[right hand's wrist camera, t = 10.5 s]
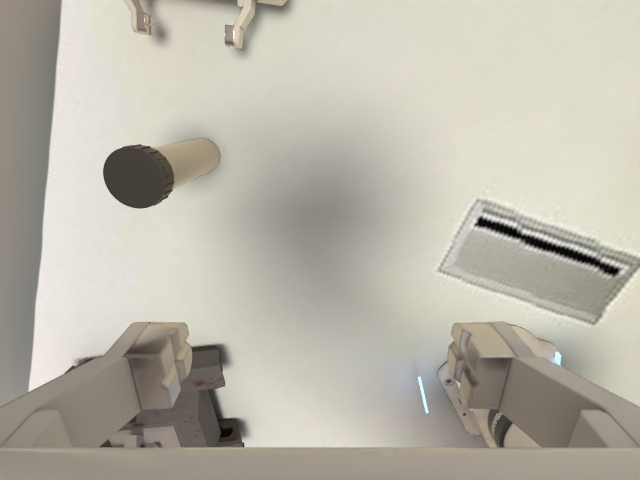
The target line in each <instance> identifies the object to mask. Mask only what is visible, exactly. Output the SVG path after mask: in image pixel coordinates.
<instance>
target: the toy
mask: <svg viewBox="0 0 640 480" xmlns="http://www.w3.org/2000/svg"><path fill="white" fill-rule="evenodd" d="M91 360H93V359H89V360H87V361H85V362H83V363H80V364H79V365H77V366H76V367H75V366H72V367H71V368H70V369H69V370H68V371H66V372H65V373H67V372H69V371H71V370H73V369H75V368H77V367H79V366H81V365H83V364H85V363H87V362H89V361H91ZM222 371H223V369H222V365H221V361H220V357H219V349H217V348H216V347H214V346H210V347H201V348H192V364H191V369H190V372H189V374H188V376H187V378H186V379H185V380H183V381H182V382H181V383H180V388H181V391H180V393H179V395H178V397H177V399H176V401H175V403H174V405H173V407H172V409H145V410H141V412H140V413H138V414H137V415H136V416H135V417H134V418H133V419H131V420H130V421H129V422H128V423H127V424H125V425H124V426H123V427H122V428H121V429H120V430H118V431H117V432H116V433H115V434H114V435H113V436H111V437H110V438H109V439H108V440H107V441H106V442H104V443H103V444H102V445H101V446H100V447H133V448H187V447H244V443H242V439H241V435H240V432H239V428H238V425H237V422H236V421H234V420H228V421H217V418H216V414H215V411H214V408H213V405H212V401H211V398H210V395H209V391H208V389H217V388H220V387H224V386H225V380H224V377H223V373H222ZM65 373H64V374H65Z"/></svg>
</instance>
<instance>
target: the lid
mask: <svg viewBox="0 0 640 480" xmlns="http://www.w3.org/2000/svg"><path fill="white" fill-rule="evenodd" d="M171 166H172V165H170V163H169V161H168V160H167V159H166V157H165V156H164V155H162V154H161V153H160V152H159V150H155V149H154V148H151V147H150V146H143V145H141V144H139V145H133V146H132V145H131V146H125V147H123V148H120V149H117V150H115V151H114V152H112V153H111V154H110V155H109V156H108V158H107V160H106V161H105V164H104V169H103V175H104V181H105V184H106V186H107V188H108V190H109V191H110V193H111V194H112V195H113V196H114V197H115V198H116V199H117V200H118V201H119V202H121V203H123V204H125V205H127V206H129V207H133V208H147V207H150V206H152V205H156V204H158V203H160V202H162V200H164V199H166V198H168V195H169V194H170V193H171V192H172V191H173V190H172V189H173V185H174V183H175V182H174V173H173V169H172V167H171Z"/></svg>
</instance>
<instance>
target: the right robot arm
mask: <svg viewBox="0 0 640 480" xmlns="http://www.w3.org/2000/svg"><path fill="white" fill-rule="evenodd" d="M188 335H189V331H188V327H187V325H186V324H185V323H180V322H135V323H132V324H131V325H130V326H129V327H128V328H127V330H126V331H125V332H124V333H123V334H122V335H121V336H120V338H119V339H118V340H117V341H116V342H115V343H114V344H113V346H112V347H111V348H110V349H109V350H108V351H107V353H106V354H105V355H104V356H103V357H96V358H94V359H93V360H91V361H89V362H87V363H85V364H83V365H81V366H79V367H77V368H75V369H73V370H71V371H69V372H67V373H65V374H63V375H61V376H59V377H57V378H55V379H54V380H52V381H50V382H48V383H46V384H44V385H42V386H40V387H38V388H36V389H34V390H32V391H30V392H28V393H26V394H24V395H22V396H20V397H18V398H17V399H15V400H13V401H11V402H9V403H7V404H5V405H3V406H1V407H0V480H640V407H639V406H637V405H635V404H633V403H631V402H629V401H627V400H625V399H623V398H621V397H619V396H617V395H616V394H614V393H612V392H610V391H608V390H606V389H604V388H602V387H600V386H598V385H596V384H594V383H592V382H590V381H588V380H586V379H584V378H582V377H581V376H579V375H577V374H575V373H573V372H571V371H569V370H567V369H565V368H563V367H562V366H561V365H560V360H561V355H560V354H559V353H558V351H557V349H556V348H555V346H554V345H553V344H551V343H549V342H546V341H542V340H538V339H537V338H535V337H534V336H533V335H532V334H531V333H529V332H528V331H526V330H524V329H522V328H520V327H517V326H512V325H509V324H508V323H506V322H487V323H454V325H453V327H452V331H451V335H452V337H453V339H454V342H453V343H452V344H451V345H450V346H449V349H448V362H447V363H446V364H445V365H444V366H442V367H441V368H440V369H439V371H438V377H439V379H440V381H441V383H442V385H443V387H444V389H445V390H446V392H447V394H448V396H449V398H450V400H451V402H452V404H453V406H454V408H455V410H456V412H457V414H458V415H459V417H460V419H461V421H462V423H463V425H464V427H465V429H466V430H467V432H468V433H470V434H474V435H482V436H483V437H484V439H485V441H486V443H487V445H488V446H489V447H490V448H378V447H187V448H133V447H100V446H101V445H102V444H103V443H104V442H106V441H107V440H108V439H109V438H110V437H111V436H113V435H114V434H115V433H116V432H117V431H118V430H120V429H121V428H122V427H123V426H124V425H125V424H127V423H128V422H129V421H130V420H131V419H133V418H134V417H135V416H136V415H137V414H138V413H140V412H141V410H145V409H172V407H173V405H174V403H175V401H176V399H177V397H178V395H179V393H180V391H181V388H180V383H181V382H182V381H183V380H185V379H186V378H187V376H188V374H189V372H190V369H191V364H192V348H191V346H190V345H189V344H188V343H187V342H186V339H187V337H188ZM448 379H449V380H448ZM418 380H419V384H420V388H421V393H422V397H423V402H424V406H425V410H426V413H428V409H427V404H426V400H425V395H424V391H423V386H422V382H421V378H420V377H418Z"/></svg>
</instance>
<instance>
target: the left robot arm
mask: <svg viewBox="0 0 640 480" xmlns="http://www.w3.org/2000/svg"><path fill="white" fill-rule="evenodd" d="M124 1H125V3H126V5H127V6H128V8H129V10H130V11H131V23H132V29H133V31H134V32H136V33H138V34H144V35H151V36H153V35H154V29H153V25H154V18H153V17H152V16H149V15H148V14H146V13H144V11H143V9H142V7H141V5H140V3H139V0H124ZM256 2H258V3H265V4H271V5H278V6H282V5H284V4H285V3H286V2H287V0H237V5H238V6H239V8H240V9H241V12H240V14H239V16H238V18H237V19H236V21H235V23H234V25H233V26H230V25H225V33H226V36H225V45H226V46H228V47H232V48H238V49H242V46H243V31H245V29H246V28H247V26H248V24H249V23H250V21H251V20H252V18H253V16H254V15H255V4H256Z"/></svg>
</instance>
